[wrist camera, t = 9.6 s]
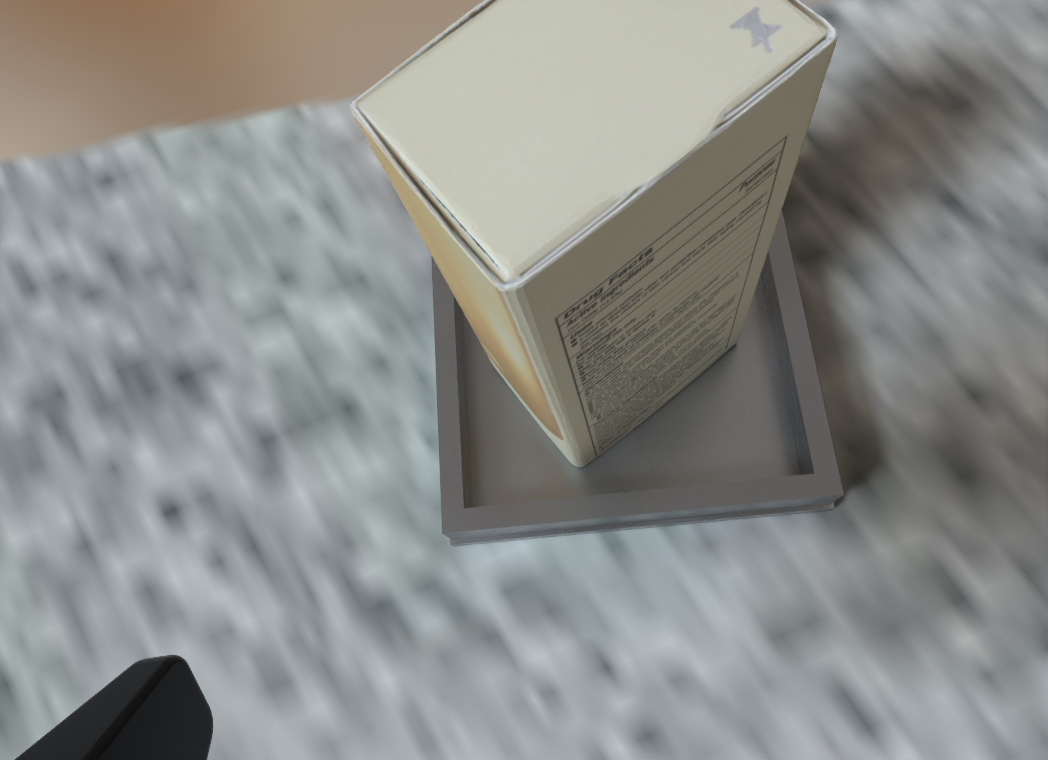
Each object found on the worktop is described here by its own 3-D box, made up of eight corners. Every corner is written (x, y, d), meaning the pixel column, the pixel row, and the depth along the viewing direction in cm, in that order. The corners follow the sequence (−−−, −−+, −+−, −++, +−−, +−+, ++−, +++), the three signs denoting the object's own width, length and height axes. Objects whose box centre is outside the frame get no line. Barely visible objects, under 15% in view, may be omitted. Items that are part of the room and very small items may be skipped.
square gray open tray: (831, 510, 21) (849, 498, 19) (453, 546, 22) (438, 537, 20) (762, 181, 24) (771, 147, 23) (439, 225, 25) (425, 195, 24)
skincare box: (645, 242, 24) (660, -139, 12) (744, 342, 22) (867, 16, 11) (479, 370, 23) (330, 94, 11) (570, 481, 21) (503, 291, 10)
